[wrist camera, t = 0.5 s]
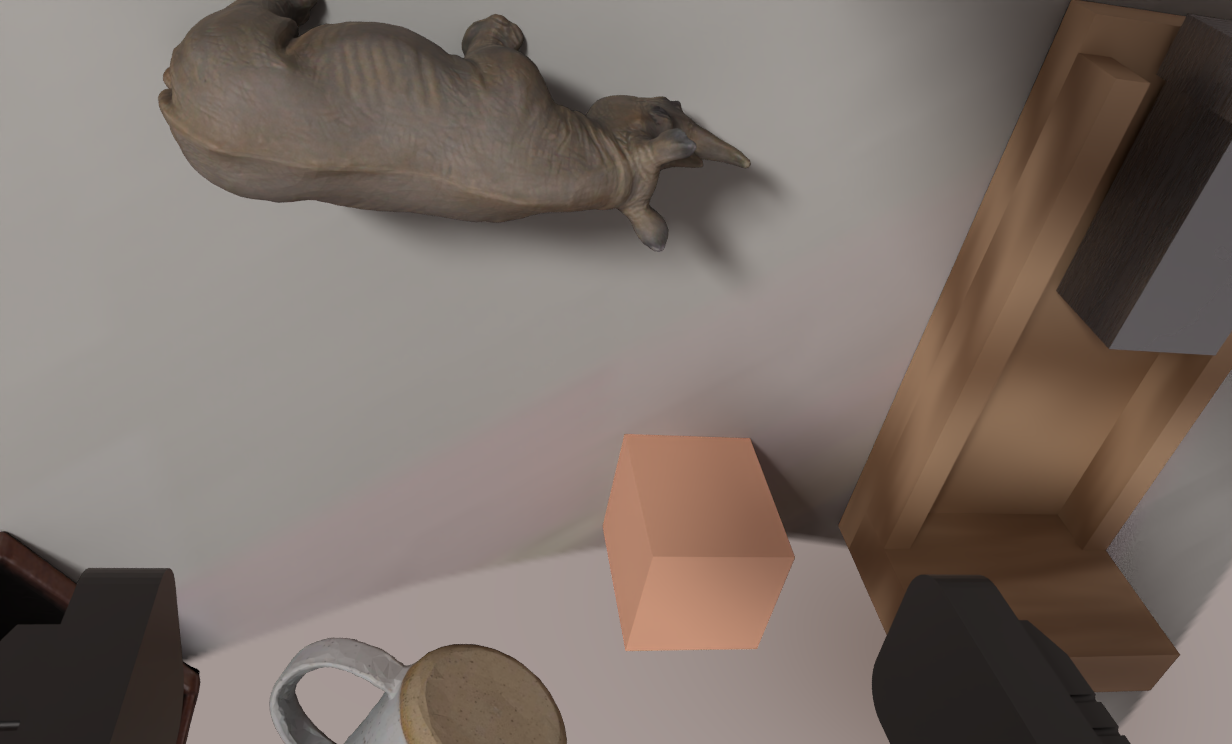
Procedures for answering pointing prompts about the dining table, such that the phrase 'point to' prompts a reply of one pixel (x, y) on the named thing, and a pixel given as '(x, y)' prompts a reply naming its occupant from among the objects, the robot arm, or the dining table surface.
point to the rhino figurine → (413, 122)
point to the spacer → (693, 543)
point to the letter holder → (56, 606)
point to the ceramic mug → (427, 697)
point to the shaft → (1168, 213)
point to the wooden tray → (1038, 382)
